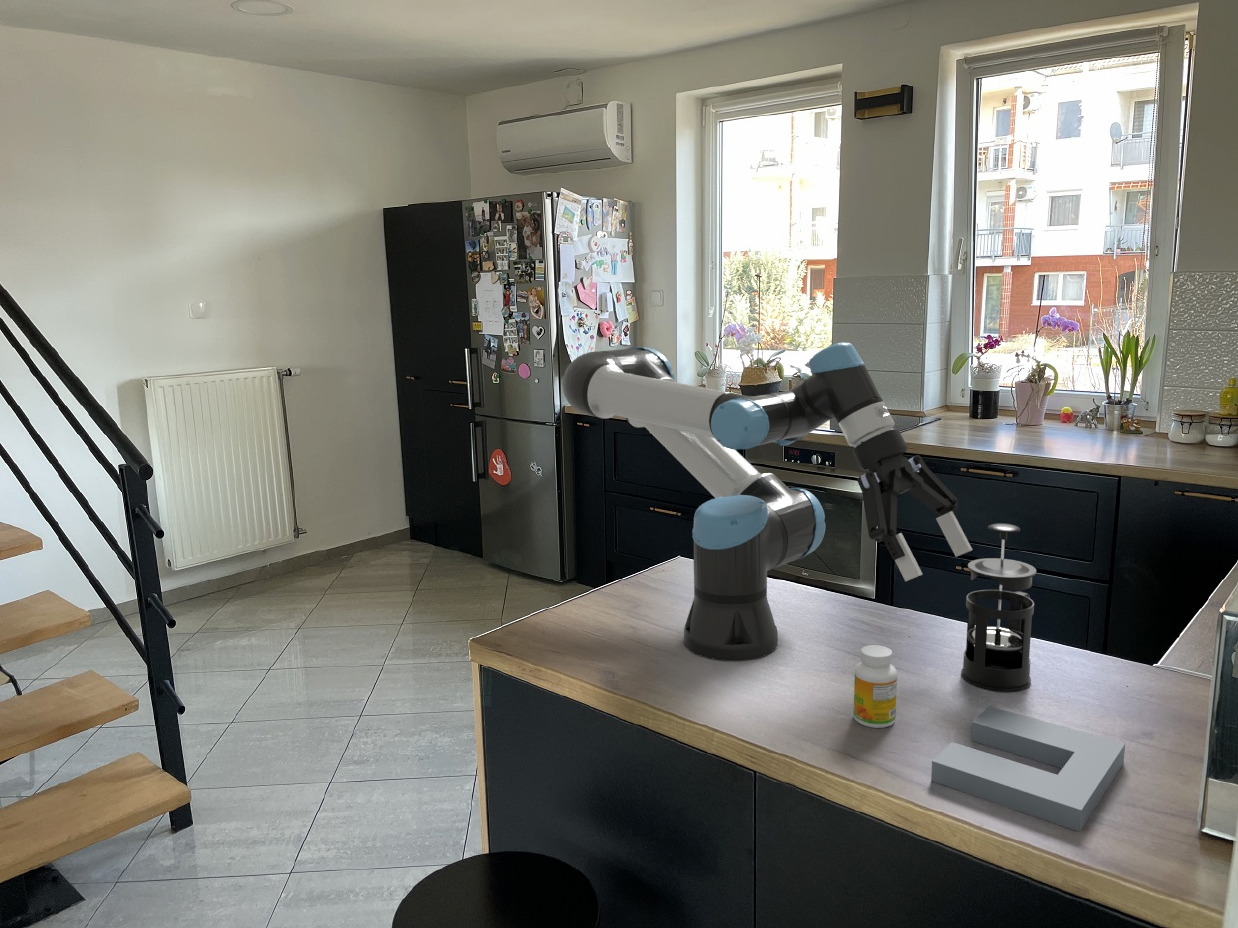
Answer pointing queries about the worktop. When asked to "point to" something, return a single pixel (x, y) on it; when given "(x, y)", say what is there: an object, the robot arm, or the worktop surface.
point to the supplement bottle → (875, 688)
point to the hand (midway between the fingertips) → (940, 565)
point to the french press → (998, 642)
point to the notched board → (1026, 787)
